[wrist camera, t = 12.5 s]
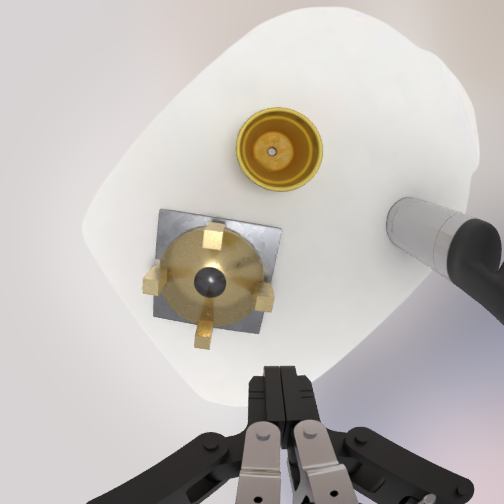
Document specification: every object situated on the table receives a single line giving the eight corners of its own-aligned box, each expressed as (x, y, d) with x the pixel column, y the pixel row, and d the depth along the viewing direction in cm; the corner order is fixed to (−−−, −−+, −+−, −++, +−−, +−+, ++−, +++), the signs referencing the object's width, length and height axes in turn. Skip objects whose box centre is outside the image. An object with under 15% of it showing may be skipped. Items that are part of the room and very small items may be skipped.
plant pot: (249, 193, 42) (250, 202, 33) (229, 129, 39) (224, 119, 29) (313, 176, 41) (333, 179, 32) (295, 112, 38) (309, 98, 29)
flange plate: (281, 228, 44) (282, 230, 42) (258, 330, 49) (258, 334, 48) (161, 209, 42) (158, 210, 41) (154, 313, 48) (152, 317, 47)
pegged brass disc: (158, 213, 41) (144, 221, 35) (279, 229, 42) (285, 241, 36) (155, 317, 47) (144, 338, 41) (259, 333, 48) (261, 355, 42)
